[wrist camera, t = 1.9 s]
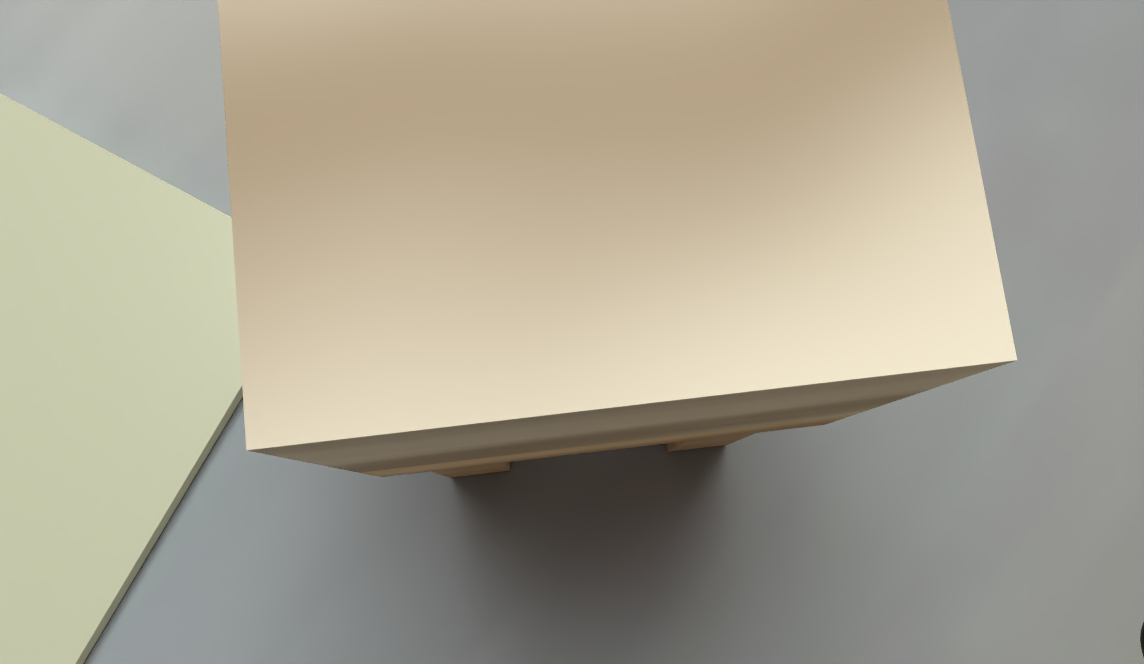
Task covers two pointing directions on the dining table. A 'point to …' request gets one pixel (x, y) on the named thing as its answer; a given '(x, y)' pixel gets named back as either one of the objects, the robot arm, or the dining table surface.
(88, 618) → the placemat
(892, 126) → the stool
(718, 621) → the dining table surface
